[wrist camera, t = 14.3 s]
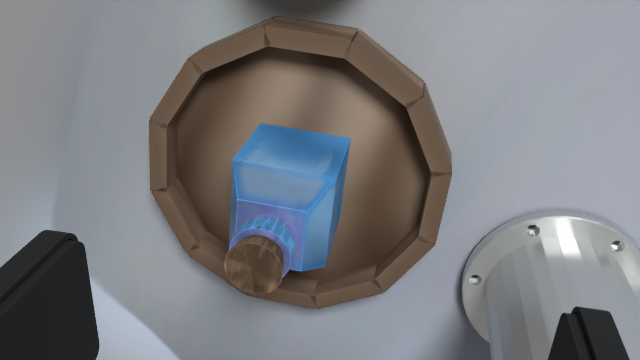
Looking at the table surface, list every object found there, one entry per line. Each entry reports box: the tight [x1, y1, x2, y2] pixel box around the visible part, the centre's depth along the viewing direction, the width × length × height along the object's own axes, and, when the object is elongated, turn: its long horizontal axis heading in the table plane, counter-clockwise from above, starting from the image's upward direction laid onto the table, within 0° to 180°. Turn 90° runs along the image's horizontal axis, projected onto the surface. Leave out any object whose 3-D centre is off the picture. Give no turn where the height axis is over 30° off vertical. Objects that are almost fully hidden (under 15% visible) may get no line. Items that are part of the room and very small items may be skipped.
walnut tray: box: [149, 16, 452, 309], centre depth 41 cm, size 20×20×3 cm
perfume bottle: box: [224, 123, 351, 294], centre depth 36 cm, size 6×6×12 cm
